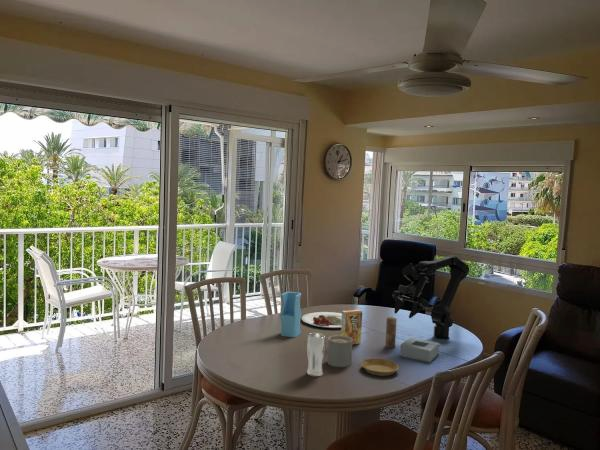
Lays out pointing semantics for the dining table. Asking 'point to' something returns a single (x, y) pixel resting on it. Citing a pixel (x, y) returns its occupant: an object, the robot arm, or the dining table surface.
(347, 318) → the candy box
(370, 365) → the plant saucer
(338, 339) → the coffee mug
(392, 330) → the walnut peg
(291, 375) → the dining table surface
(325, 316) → the plated food
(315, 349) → the beer glass
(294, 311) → the vase
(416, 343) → the socket block
